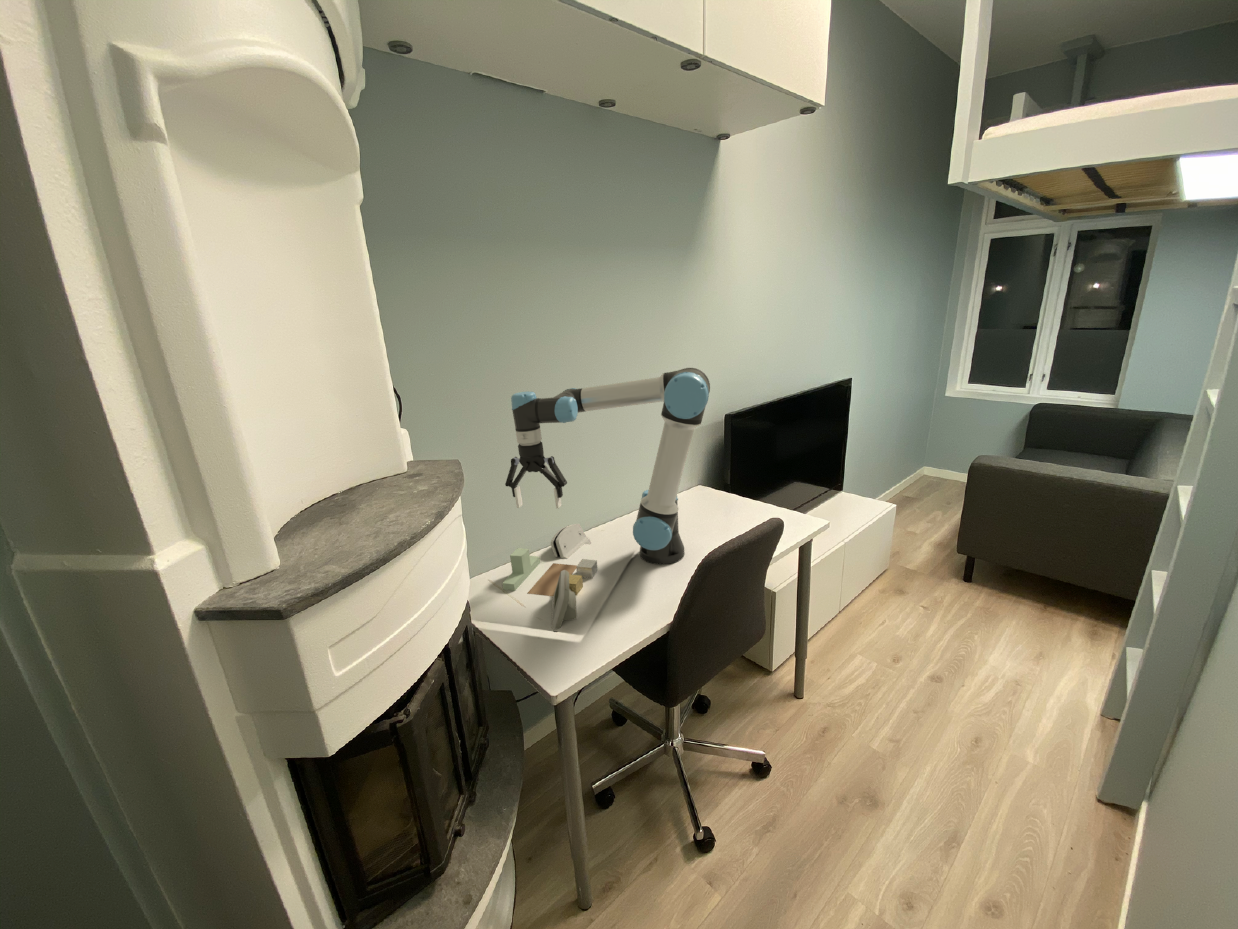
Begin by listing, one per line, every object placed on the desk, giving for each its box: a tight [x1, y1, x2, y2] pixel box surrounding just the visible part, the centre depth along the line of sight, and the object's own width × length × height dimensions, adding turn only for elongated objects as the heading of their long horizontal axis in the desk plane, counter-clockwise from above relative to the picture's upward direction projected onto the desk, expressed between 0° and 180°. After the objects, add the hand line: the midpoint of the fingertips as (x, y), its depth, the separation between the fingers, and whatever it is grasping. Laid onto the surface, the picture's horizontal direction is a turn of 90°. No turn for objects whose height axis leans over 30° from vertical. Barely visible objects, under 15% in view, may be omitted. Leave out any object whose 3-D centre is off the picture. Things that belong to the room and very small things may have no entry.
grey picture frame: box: [550, 570, 578, 633], centre depth 144 cm, size 16×9×11 cm, turn 174°
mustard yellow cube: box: [569, 574, 584, 596], centre depth 155 cm, size 5×5×5 cm
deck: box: [526, 563, 578, 597], centre depth 163 cm, size 9×19×2 cm, turn 162°
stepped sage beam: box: [501, 547, 541, 592], centre depth 165 cm, size 4×18×10 cm, turn 163°
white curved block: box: [550, 523, 592, 560], centre depth 182 cm, size 17×5×10 cm, turn 154°
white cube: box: [576, 558, 599, 580], centre depth 164 cm, size 5×5×5 cm
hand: (539, 506), depth 166 cm, fingers open, 13 cm apart
